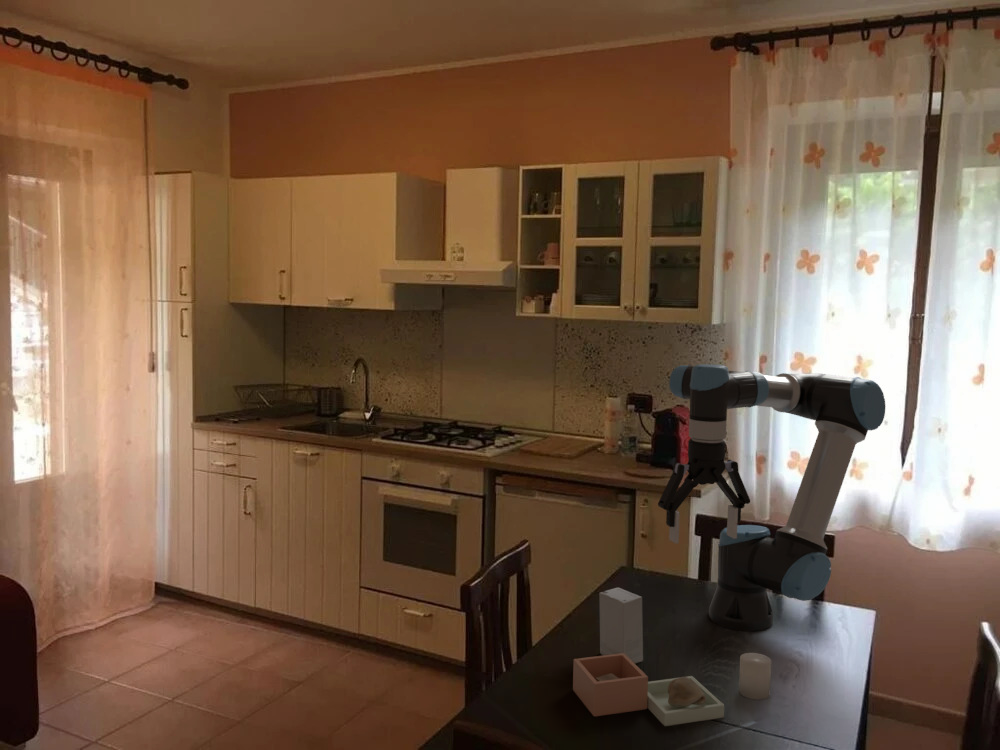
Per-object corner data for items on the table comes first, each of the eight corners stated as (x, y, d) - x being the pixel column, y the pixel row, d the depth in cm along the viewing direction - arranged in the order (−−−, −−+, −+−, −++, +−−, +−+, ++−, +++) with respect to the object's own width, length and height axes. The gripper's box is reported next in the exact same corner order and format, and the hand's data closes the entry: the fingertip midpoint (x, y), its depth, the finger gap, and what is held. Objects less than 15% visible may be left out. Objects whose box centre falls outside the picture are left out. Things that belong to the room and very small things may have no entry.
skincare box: (643, 663, 186) (645, 597, 185) (622, 670, 183) (624, 602, 181) (617, 649, 193) (619, 585, 192) (597, 655, 190) (598, 590, 188)
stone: (705, 715, 166) (675, 685, 171) (716, 692, 163) (685, 662, 168) (683, 728, 162) (653, 697, 167) (694, 704, 159) (662, 674, 164)
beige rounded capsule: (758, 683, 177) (760, 651, 177) (775, 697, 172) (777, 664, 171) (733, 687, 176) (734, 654, 175) (749, 701, 170) (750, 667, 169)
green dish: (691, 690, 174) (692, 675, 174) (723, 720, 163) (724, 705, 162) (635, 697, 171) (636, 683, 171) (664, 729, 159) (665, 713, 159)
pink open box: (623, 685, 176) (624, 653, 175) (646, 711, 165) (648, 677, 165) (572, 692, 173) (573, 659, 172) (593, 719, 162) (594, 684, 162)
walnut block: (610, 692, 172) (611, 673, 171) (623, 700, 168) (624, 681, 168) (594, 697, 170) (595, 677, 169) (607, 705, 166) (608, 686, 166)
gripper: (749, 433, 185) (745, 529, 187) (644, 438, 178) (640, 538, 180) (770, 440, 178) (765, 539, 180) (660, 445, 171) (657, 549, 173)
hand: (703, 539), depth 180 cm, fingers open, 13 cm apart
